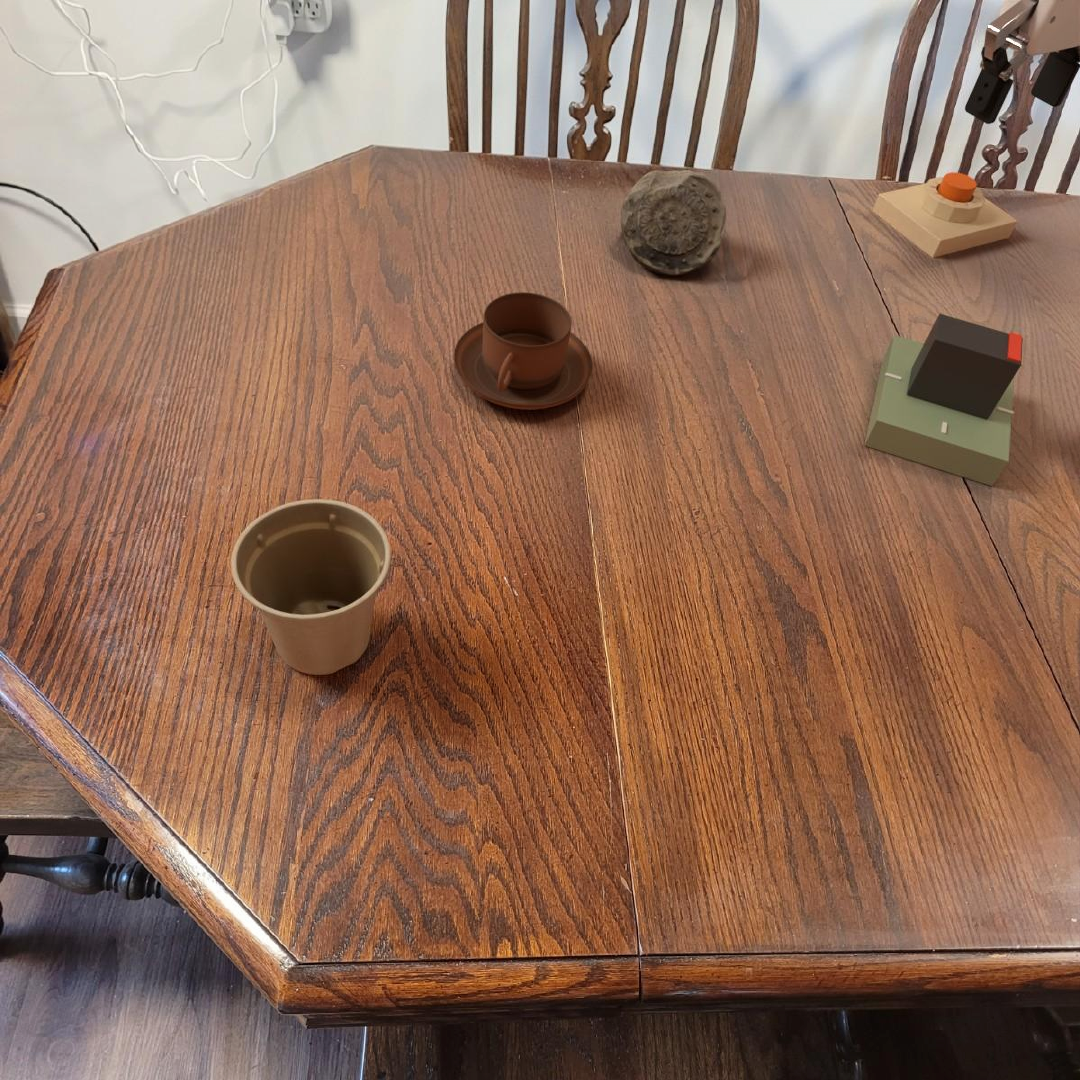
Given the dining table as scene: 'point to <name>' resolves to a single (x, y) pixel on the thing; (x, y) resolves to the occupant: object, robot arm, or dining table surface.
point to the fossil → (673, 221)
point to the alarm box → (943, 218)
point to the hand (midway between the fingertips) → (1012, 108)
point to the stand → (936, 424)
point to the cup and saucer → (523, 354)
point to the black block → (965, 366)
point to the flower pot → (313, 580)
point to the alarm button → (957, 187)
